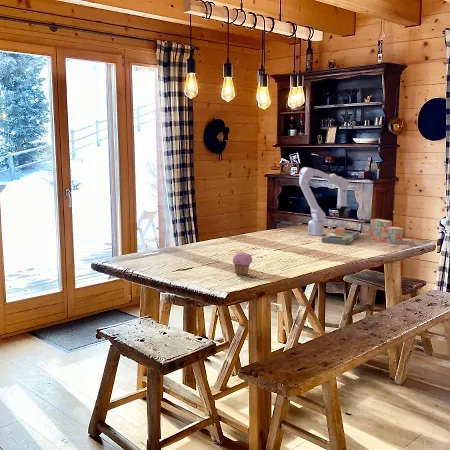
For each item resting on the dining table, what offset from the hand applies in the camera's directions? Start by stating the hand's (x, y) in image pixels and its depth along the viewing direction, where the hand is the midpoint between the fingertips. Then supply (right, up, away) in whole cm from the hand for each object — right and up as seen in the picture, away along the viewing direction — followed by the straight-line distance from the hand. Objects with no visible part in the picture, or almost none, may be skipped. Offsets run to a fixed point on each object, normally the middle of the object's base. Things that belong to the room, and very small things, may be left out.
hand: (341, 218), depth 346 cm
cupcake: (-67, -27, -106) cm, 129 cm away
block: (-5, -11, -21) cm, 24 cm away
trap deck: (-4, -13, -17) cm, 22 cm away
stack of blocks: (+23, -14, -19) cm, 33 cm away
